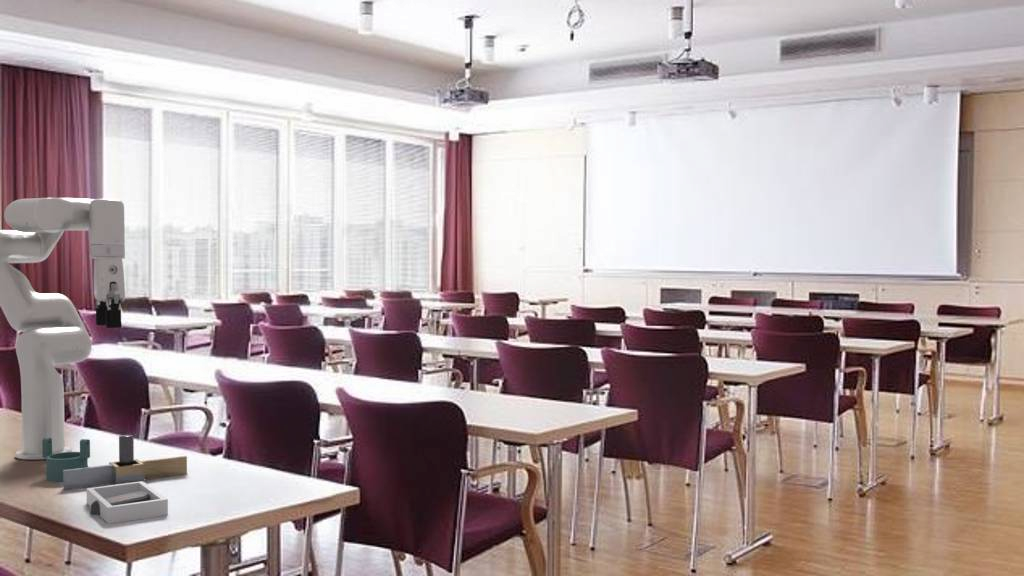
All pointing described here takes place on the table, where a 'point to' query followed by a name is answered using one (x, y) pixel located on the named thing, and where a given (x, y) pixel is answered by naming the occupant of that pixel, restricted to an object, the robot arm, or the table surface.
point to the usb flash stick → (121, 500)
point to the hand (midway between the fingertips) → (108, 326)
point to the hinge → (124, 472)
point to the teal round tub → (64, 459)
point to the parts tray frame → (131, 510)
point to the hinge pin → (126, 450)
